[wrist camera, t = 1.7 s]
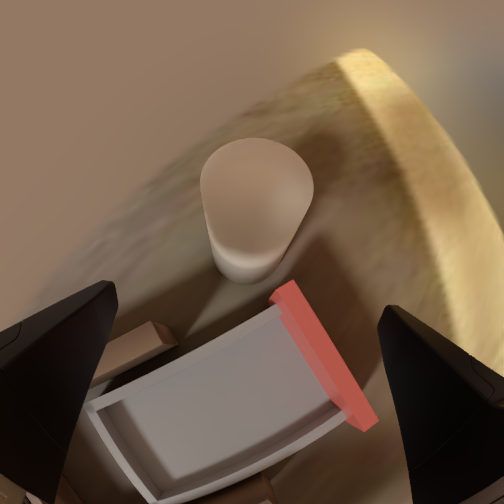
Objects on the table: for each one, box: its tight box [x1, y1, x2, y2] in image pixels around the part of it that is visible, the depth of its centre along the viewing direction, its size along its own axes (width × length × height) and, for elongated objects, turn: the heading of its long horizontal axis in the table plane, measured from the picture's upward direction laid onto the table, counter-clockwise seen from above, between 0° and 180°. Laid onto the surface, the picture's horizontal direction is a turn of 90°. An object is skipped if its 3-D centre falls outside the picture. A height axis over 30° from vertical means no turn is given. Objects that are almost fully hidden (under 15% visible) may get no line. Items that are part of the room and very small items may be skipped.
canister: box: [200, 138, 314, 285], centre depth 17 cm, size 5×5×10 cm
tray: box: [83, 280, 379, 504], centre depth 16 cm, size 11×17×4 cm, turn 120°
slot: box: [26, 320, 277, 504], centre depth 14 cm, size 15×18×5 cm
